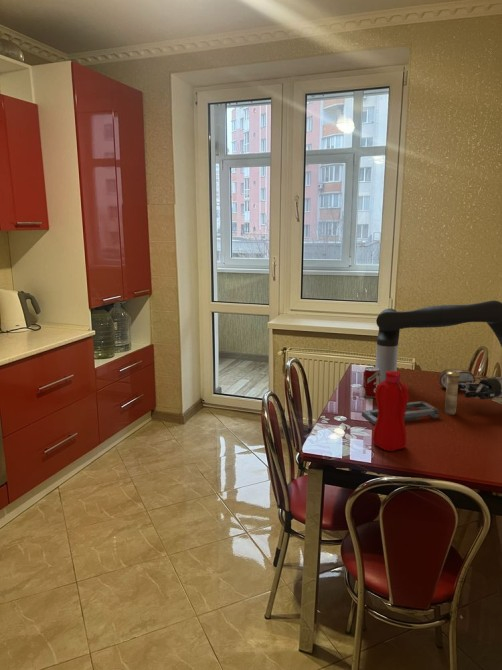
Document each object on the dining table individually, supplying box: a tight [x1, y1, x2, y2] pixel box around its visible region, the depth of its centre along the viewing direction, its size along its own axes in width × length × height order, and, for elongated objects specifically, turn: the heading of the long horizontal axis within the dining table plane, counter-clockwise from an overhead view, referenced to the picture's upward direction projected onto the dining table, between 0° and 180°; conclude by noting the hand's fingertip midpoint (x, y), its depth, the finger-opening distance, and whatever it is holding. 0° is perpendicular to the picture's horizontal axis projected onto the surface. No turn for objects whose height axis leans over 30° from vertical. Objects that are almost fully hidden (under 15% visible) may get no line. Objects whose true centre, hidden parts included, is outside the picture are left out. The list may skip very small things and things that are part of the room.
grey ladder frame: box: [361, 400, 440, 426], centre depth 179 cm, size 26×10×3 cm, turn 103°
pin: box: [444, 371, 460, 416], centre depth 180 cm, size 5×5×16 cm
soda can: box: [362, 366, 380, 399], centre depth 200 cm, size 7×7×12 cm
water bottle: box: [372, 371, 410, 452], centre depth 152 cm, size 9×11×25 cm
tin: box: [437, 368, 476, 390], centre depth 208 cm, size 15×3×8 cm, turn 84°
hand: (458, 391), depth 181 cm, fingers open, 8 cm apart
